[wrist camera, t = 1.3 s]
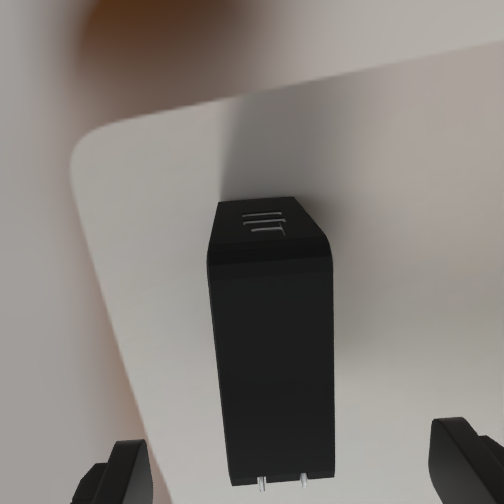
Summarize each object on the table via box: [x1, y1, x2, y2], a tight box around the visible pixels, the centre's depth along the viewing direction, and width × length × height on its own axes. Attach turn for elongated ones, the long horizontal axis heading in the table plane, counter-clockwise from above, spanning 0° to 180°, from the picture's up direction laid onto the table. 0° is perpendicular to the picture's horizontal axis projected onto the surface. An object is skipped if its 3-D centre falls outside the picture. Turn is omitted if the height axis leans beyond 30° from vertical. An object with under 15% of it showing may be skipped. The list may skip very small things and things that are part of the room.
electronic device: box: [207, 197, 335, 491], centre depth 19 cm, size 4×10×10 cm, turn 4°
